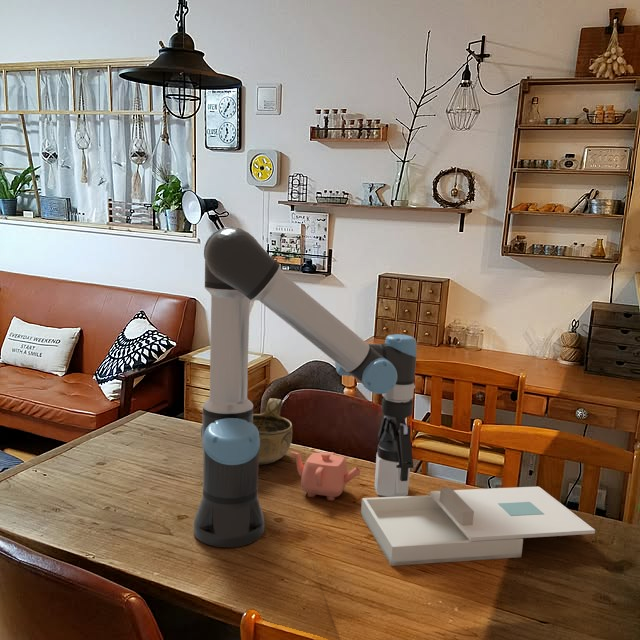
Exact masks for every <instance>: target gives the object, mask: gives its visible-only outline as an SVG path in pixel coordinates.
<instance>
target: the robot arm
mask: <svg viewBox="0 0 640 640" xmlns="http://www.w3.org/2000/svg"><path fill="white" fill-rule="evenodd" d="M203 257H204V289H206V291H207V292H208V293H209V294H210V295H211V298H210V299H211V300H210V301H211V302H210V304H211V305H210V306H211V307H210V357H209V358H210V359H209V365H210V366H209V371H210V372H209V398H207V399H206V400H205V402H203V404H202V425H201V428H200V429H201V430H200V434H201V435H200V436H201V441H202V456H203V468H202V469H203V471H202V472H203V473H202V475H203V476H202V478H203V479H202V499H200V504H199V506H198V509H197V512H196V514H195V517H194V521H193V535H194V537H195V538H196V539H197V540H198V541H200V542H201V543H203V544H206V545H209V546H212V547H218V548H219V547H220V548H237V547H243V546H247V545H249V544H252V543H254V542H257V541H258V540H260V538H261V537H262V536H263V535H264V532H265V518H264V514H263V512H262V508H261V504H260V501H259V497H258V487H259V486H258V484H259V464H258V462H259V448H260V438H259V431H258V429H257V427H256V426H255V425H254V424H253V414H254V404H253V402H252V401H251V400H250V399H248V375H249V373H248V372H249V371H248V368H249V339H250V338H249V336H250V335H249V333H250V332H249V331H250V301H252V302H253V301H255V302H256V301H259V302H260V303H261V304H263V306H265V307H266V308H267V309H269V310H270V311H271V312H272V313H274V314H275V315H276V316H278V317H279V318H280V319H281V320H282V321H284V322H285V323H286V324H287V325H288V326H290V327H291V328H293V329H294V330H295V331H296V332H297V333H298V334H300V335H301V336H302V337H304V338H305V339H306V340H307V341H309V342H310V343H311V344H312V345H314V346H315V348H317V349H319V351H320V352H322V353H324V354H325V355H326V356H328V358H330V359H331V360H332V361H334V364H335V369H336V373H337V374H338V375H339V376H345V377H346V376H347V377H350V376H352V377H353V378H354V379H355V380H357V381H358V382H359V383H360V384H362V385H363V387H364V388H365V389H366V390H367V391H369V392H371V393H374V394H376V395H382V397H383V398H382V399H381V413H382V417H381V422H380V426H379V430H378V434H377V440H378V441H379V442H378V444H379V443H380V442H383V441H395V445H396V451H397V457H398V463H399V465H397V466H396V468H397V478H396V493H407V491H408V492H409V489H408V476H409V468H410V469H413V468H414V461H413V460H414V458H413V449H412V438H411V429H412V428H411V425H410V424H407V423H406V419H407V418H409V417H410V416H412V415H413V407H414V401H413V398H414V394H415V393H414V391H415V390H414V389H416V385H415V375H416V365H417V357H418V356H417V349H418V348H417V340H416V339H415V337H414V336H411V335H407V334H402V333H401V334H397V333H395V334H389V335H387V336H386V337H385V340H384V343H378V344H377V343H367V342H366V341H365V340H364V339H362V338H361V336H359V335H358V334H357V333H355V332H354V331H353V330H352V329H351V328H350V327H349V326H347V325H346V324H344V322H342V321H341V320H339V318H338V317H336V316H335V315H334V314H332V313H331V312H330V311H329V310H328V309H326V308H325V307H324V306H323V305H321V303H320V302H318V301H317V300H316V299H315V298H313V296H311V295H310V294H309V293H307V292H306V291H305V290H304V289H303V288H302V287H300V286H299V285H297V283H295V282H294V281H293V280H292V279H291V278H289V276H287V275H285V273H283V272H282V265H281V263H279V262H278V261H276V260H275V259H274V257H272V256H271V255H270V254H269V253H268V252H267V250H265V248H264V247H262V245H261V244H260V243H259V242H258V240H257V239H256V238H255V237H254V236H253V235H252V234H251V233H250V232H247V231H246V230H244V229H242V228H239V227H233V226H230V227H229V226H228V227H227V226H225V227H222V228H219V229H217V230H216V231H214V232H213V233H211V235H210V236H209V237H208V239H207V240H206V242H205V244H204V249H203ZM405 462H406V463H405ZM409 477H410V476H409Z"/></svg>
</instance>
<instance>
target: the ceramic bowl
mask: <svg viewBox="0 0 640 640" xmlns="http://www.w3.org/2000/svg"><path fill="white" fill-rule="evenodd" d="M282 405H283V401H282V399H280V398H279V399H278V398H273V397H272V398H271V397H270V398H269V399H268V401H267V404H266V408H265V410H264V412H263V413H253V424H254V425H255V426H256V427H257V429H258V431H259V438H260V448H259V462H258V465H259V466H260V465H268V464H272V463H275V462H277V461H279V460H280V459H281V458H283V457H284V456H285V455H287V453H288V452H289V450H290V447H291V444H292V440H293V424H292V422H291V421H290V420H289V419H287V418H285V417H283V416H281V411H282Z"/></svg>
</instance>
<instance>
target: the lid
mask: <svg viewBox="0 0 640 640" xmlns="http://www.w3.org/2000/svg"><path fill="white" fill-rule="evenodd" d="M429 495H431V496H432V497H433V499H434V500H435V501H436V502H437V503H438V504H439V505H440V507H441V508H442V509H443V510H444V511H445V512H446V513H447V515H448V516H449V517H450V518H451V519H452V520H453V522H454V523H455V524H456V525H457V526H458V527H459V528H460V530H461V531H462V532H463V533H464V534H465V535H466V536H467V538H468V539H469V540H470V541H482V540H498V539H514V538H523V539H527V538H528V539H529V538H530V539H531V538H544V537H545V538H546V537H547V538H548V537H558V536H559V537H563V536H564V537H565V536H576V535H578V536H579V535H591V534H592V535H594V534H595V533H596V529H595V528H593V527H592V526H590V524H588V523H587V522H585V521H584V520H583V519H582V518H580V516H577V514H575V513H574V512H572V511H571V510H570V509H569V508H568V507H566V506H565V505H563V504H562V503H561V502H560V501H559V500H557V499H556V498H555V497H553V496H552V495H551V494H549V493H548V492H547V491H545V490H544V489H543V488H541V487H540V486H522V487H521V486H520V487H519V486H517V487H500V488H499V487H494V488H476V489H475V488H473V489H453V488H452V487H440V490H431V491H429Z"/></svg>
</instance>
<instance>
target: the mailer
mask: <svg viewBox="0 0 640 640" xmlns="http://www.w3.org/2000/svg"><path fill="white" fill-rule="evenodd" d="M360 507H361V508H360V516H361V518H362V519H363V520H364V522H365V524H366V526H367V528H368V529H369V531H370V533H371V535H372V537H374V538H373V539H374V540H375V542H376V543H377V545H378V546H379V548H380V550H381V551H382V553H383V556H385V558H386V559H387V562H388V563H389V565H390V566H391V567H396V566H410V565H426V564H439V563H453V562H466V561H467V562H468V561H481V560H482V561H484V560H498V559H500V560H501V559H512V558H522V554H523V544H524V538H514V539H498V540H482V541H470V540H469V539H468V538H467V536H466V535H465V534H464V533H463V532H462V531H461V530H460V528H459V527H458V526H457V525H456V524H455V523H454V522H453V520H452V519H451V518H450V517H449V516H448V515H447V513H446V512H445V511H444V510H443V509H442V508H441V507H440V505H439V504H438V503H437V502H436V501H435V500H434V499H433V497H432V496H431V495H430V494H429V495H428V494H426V495H425V494H424V495H407V496H400V497H384V496H380V497H363V498H361V506H360Z"/></svg>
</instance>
